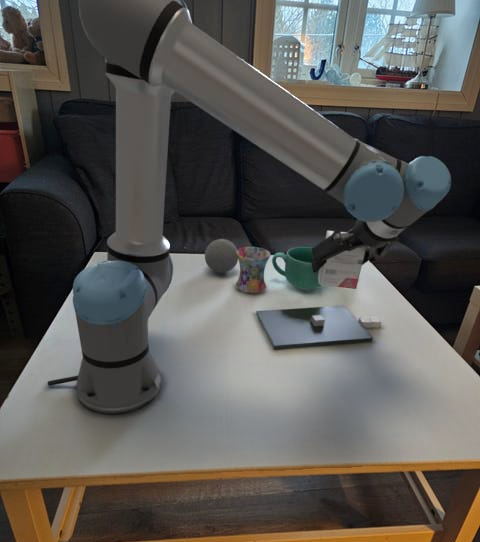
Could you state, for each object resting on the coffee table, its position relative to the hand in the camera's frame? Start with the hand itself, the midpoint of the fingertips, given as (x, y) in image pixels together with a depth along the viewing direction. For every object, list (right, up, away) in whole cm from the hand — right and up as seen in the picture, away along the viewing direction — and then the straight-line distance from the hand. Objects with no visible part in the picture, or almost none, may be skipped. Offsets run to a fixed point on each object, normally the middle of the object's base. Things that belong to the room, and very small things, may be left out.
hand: (333, 266), depth 101 cm
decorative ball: (-28, +2, +29) cm, 41 cm away
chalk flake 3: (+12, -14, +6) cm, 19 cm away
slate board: (-4, -14, +4) cm, 16 cm away
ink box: (+1, -4, -1) cm, 4 cm away
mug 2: (-5, -2, +25) cm, 25 cm away
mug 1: (-19, -3, +22) cm, 29 cm away
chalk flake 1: (-3, -13, +3) cm, 14 cm away
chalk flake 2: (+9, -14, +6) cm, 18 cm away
